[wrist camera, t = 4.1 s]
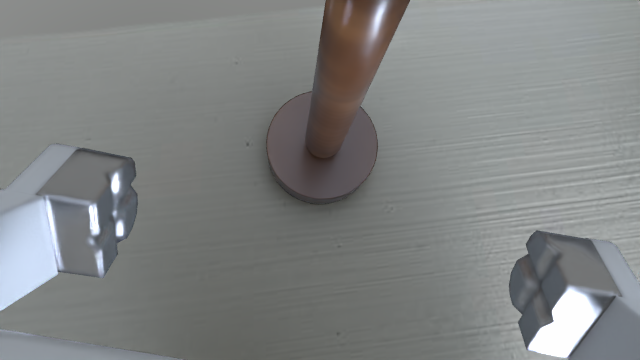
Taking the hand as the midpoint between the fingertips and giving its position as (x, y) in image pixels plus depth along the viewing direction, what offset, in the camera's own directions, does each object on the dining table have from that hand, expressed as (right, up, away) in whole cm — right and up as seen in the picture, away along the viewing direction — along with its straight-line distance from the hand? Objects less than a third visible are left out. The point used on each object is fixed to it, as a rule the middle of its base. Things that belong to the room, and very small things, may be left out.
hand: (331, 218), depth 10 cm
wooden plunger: (0, +2, +17) cm, 17 cm away
